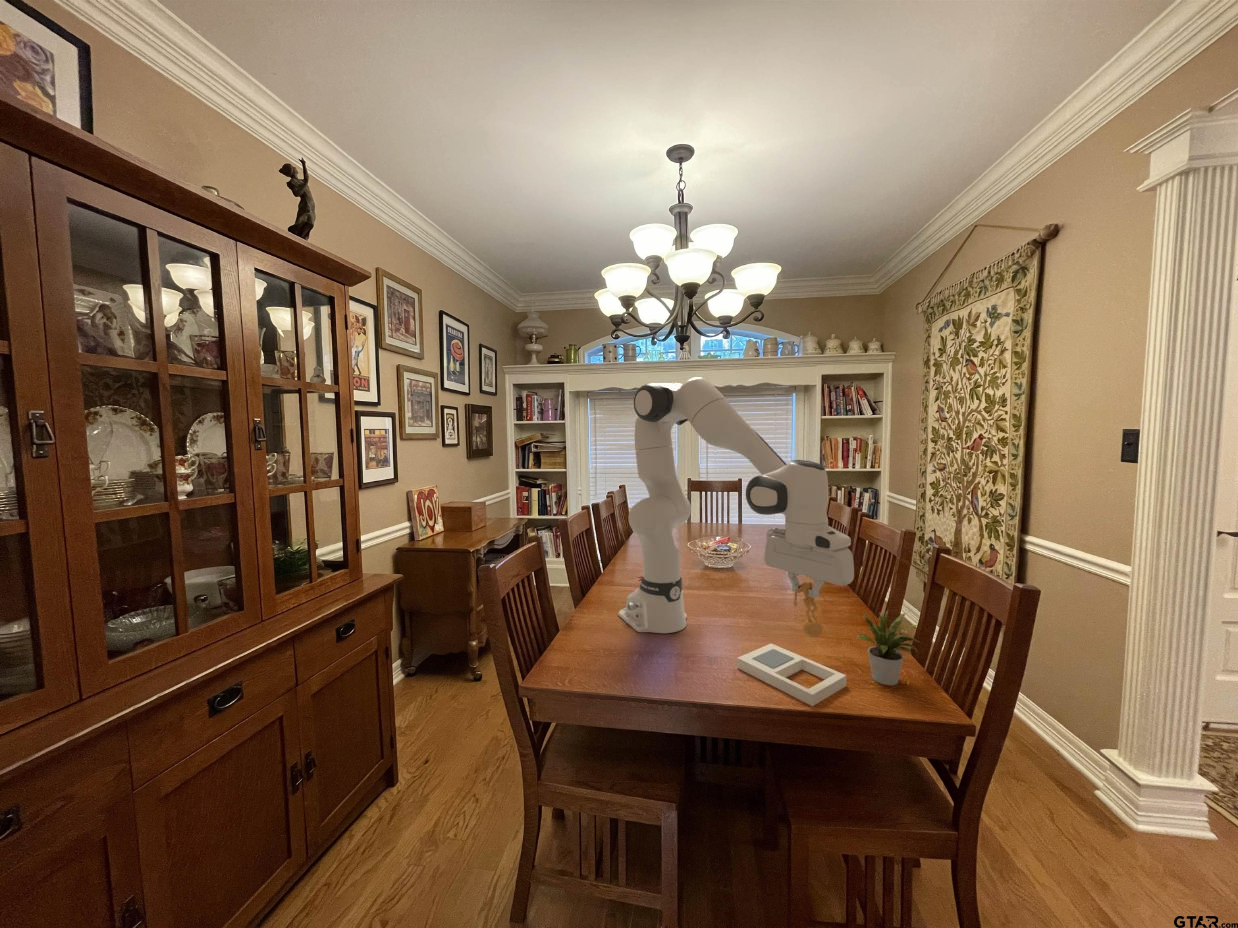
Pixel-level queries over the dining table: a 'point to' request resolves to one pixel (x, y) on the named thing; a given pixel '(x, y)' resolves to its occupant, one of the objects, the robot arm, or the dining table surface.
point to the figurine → (811, 625)
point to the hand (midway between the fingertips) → (805, 594)
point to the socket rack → (782, 663)
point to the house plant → (886, 649)
